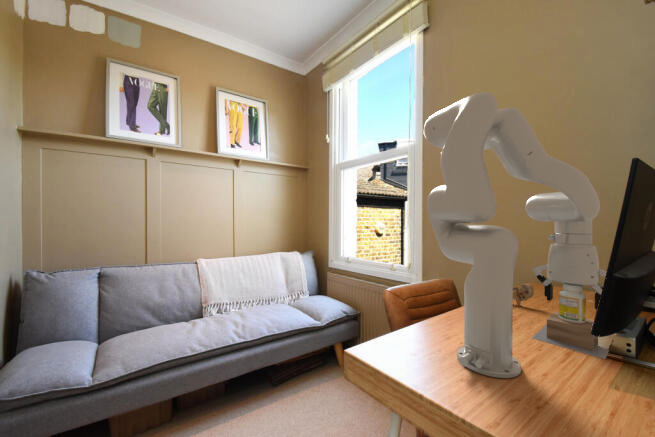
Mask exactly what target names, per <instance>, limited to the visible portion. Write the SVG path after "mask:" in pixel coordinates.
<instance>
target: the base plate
mask: <svg viewBox="0 0 655 437" xmlns="http://www.w3.org/2000/svg"><path fill="white" fill-rule="evenodd" d="M531 339H533V340H537V341H540V342H544V343H547V344H550V345H553V346H557V347H561V348H564V349H568V350H572V351H574V352H578V353H581V354H586V355H589V356H592V357H596V358H599V359H603V360H606V359H607V357H608V354H609V351H610V350H608V349H604V348H602V347H600V346H598V342H597V343H596V345H595V347H594V349H593V350H590V349H586V348H583V347H579V346H576V345H572V344H568V343H565V342H561V341H557V340H554V339H550V338H547V323H545V325H544V326H543V327H542V328H541V329H539V331H538V332H536V333H535V334H534V335H533V336H532V337H531Z"/></svg>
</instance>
